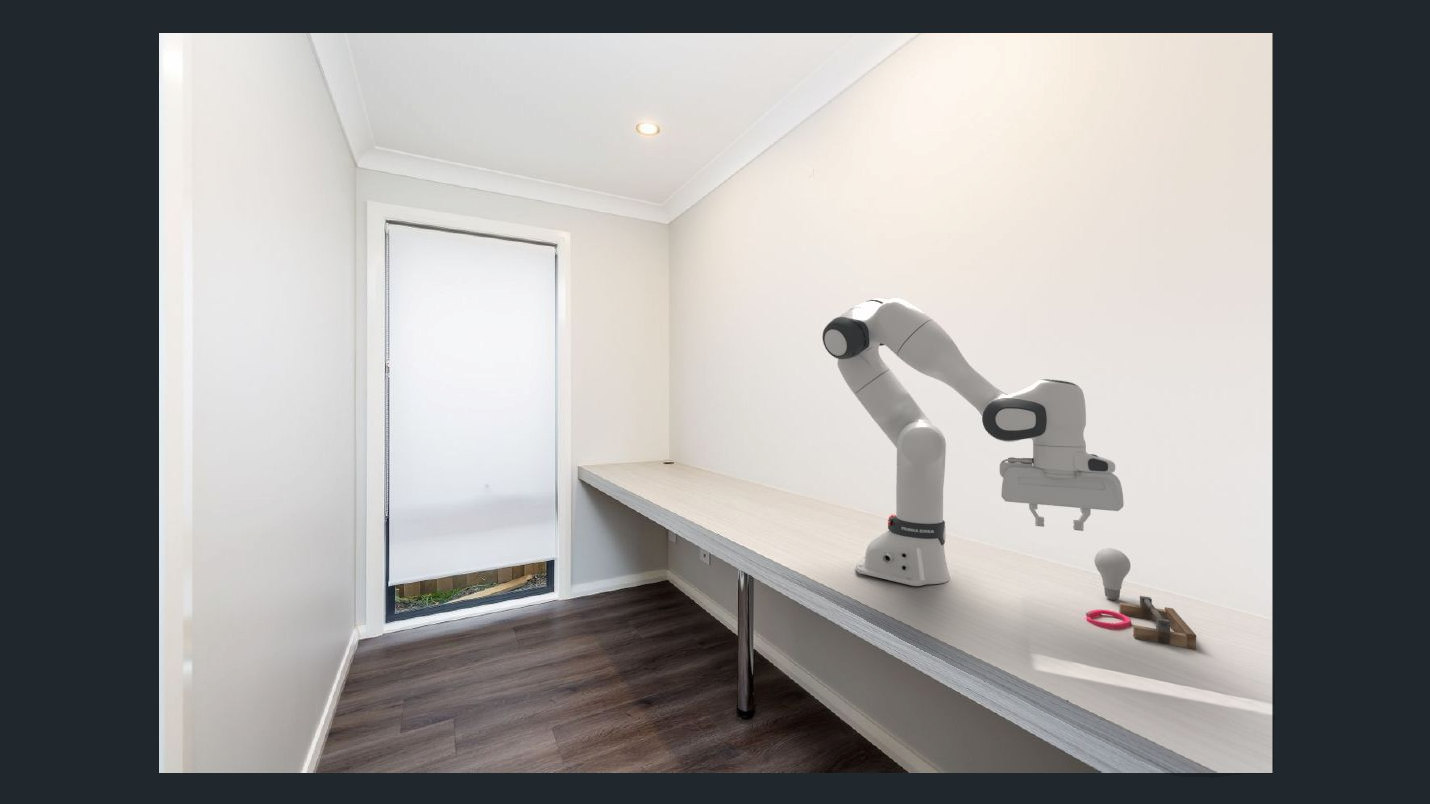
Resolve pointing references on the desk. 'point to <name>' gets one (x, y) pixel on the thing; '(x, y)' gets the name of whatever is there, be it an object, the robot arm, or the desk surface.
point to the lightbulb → (1112, 570)
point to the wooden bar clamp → (1160, 624)
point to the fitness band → (1115, 626)
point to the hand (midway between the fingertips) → (1058, 528)
